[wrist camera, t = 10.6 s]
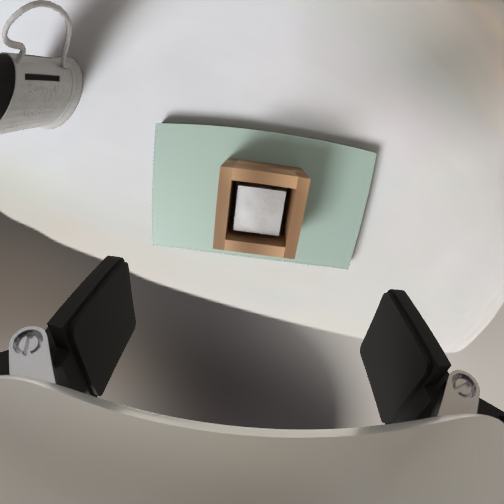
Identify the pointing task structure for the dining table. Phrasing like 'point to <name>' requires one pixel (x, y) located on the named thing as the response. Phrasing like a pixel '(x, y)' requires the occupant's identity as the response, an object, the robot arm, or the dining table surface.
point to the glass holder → (37, 82)
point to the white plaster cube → (259, 208)
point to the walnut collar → (292, 214)
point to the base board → (207, 178)
